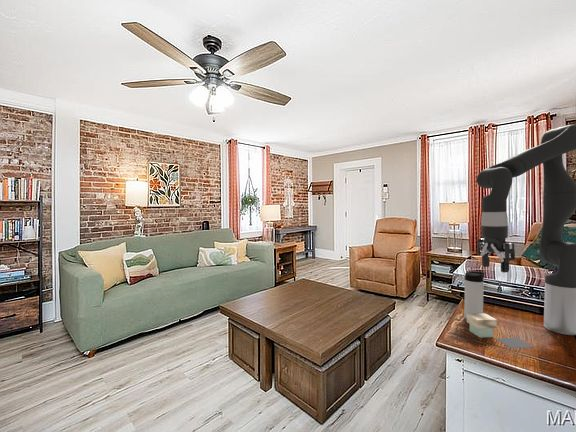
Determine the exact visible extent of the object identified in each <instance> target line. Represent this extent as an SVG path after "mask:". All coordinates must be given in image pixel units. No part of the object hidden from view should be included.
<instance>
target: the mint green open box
mask: <svg viewBox="0 0 576 432" xmlns="http://www.w3.org/2000/svg"><path fill="white" fill-rule="evenodd" d="M469 332H470V333H472V334H473V335H475V336H476V337H478V338H481V339H482V338H483V339H485V338H494V328H480V329H477V328H476V327H474V326H472V325H471V324H469Z"/></svg>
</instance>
